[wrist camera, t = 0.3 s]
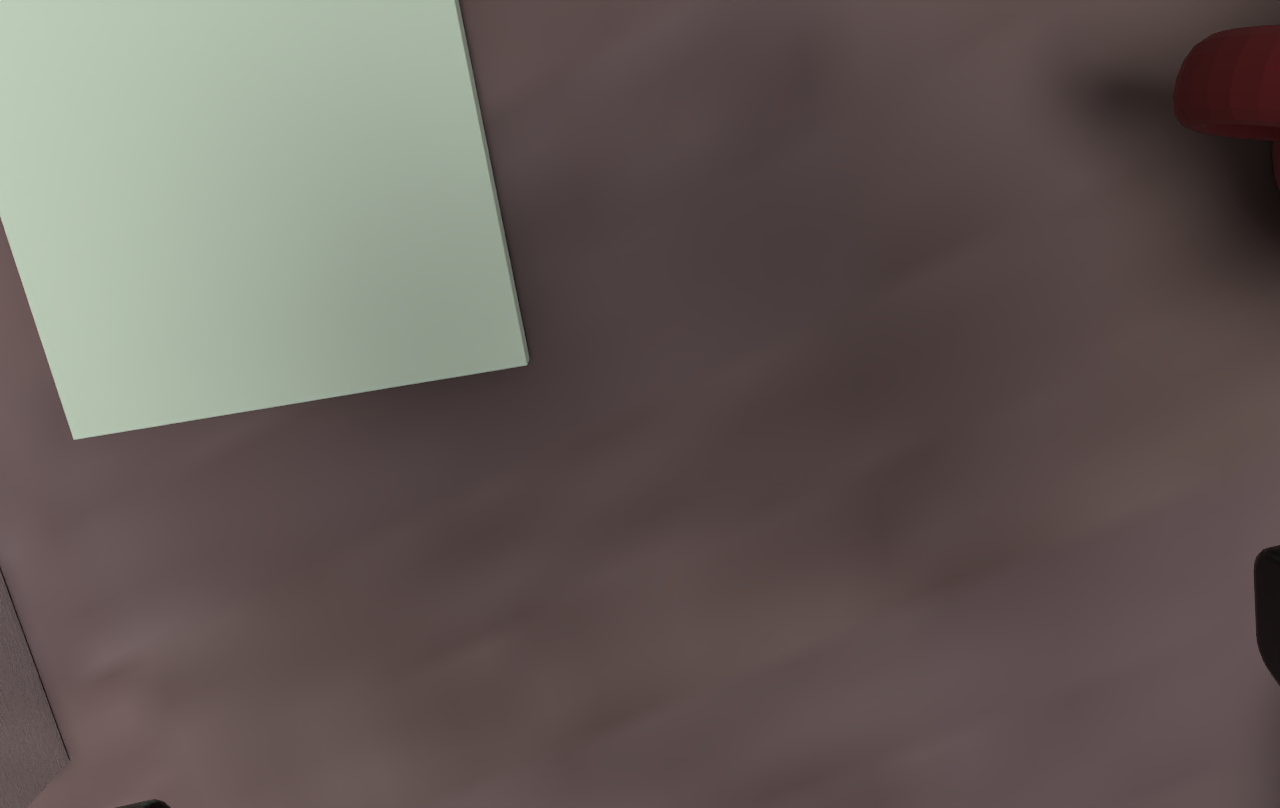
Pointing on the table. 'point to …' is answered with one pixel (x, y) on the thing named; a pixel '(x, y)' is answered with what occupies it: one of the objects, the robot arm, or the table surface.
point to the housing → (23, 718)
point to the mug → (1233, 87)
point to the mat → (249, 203)
